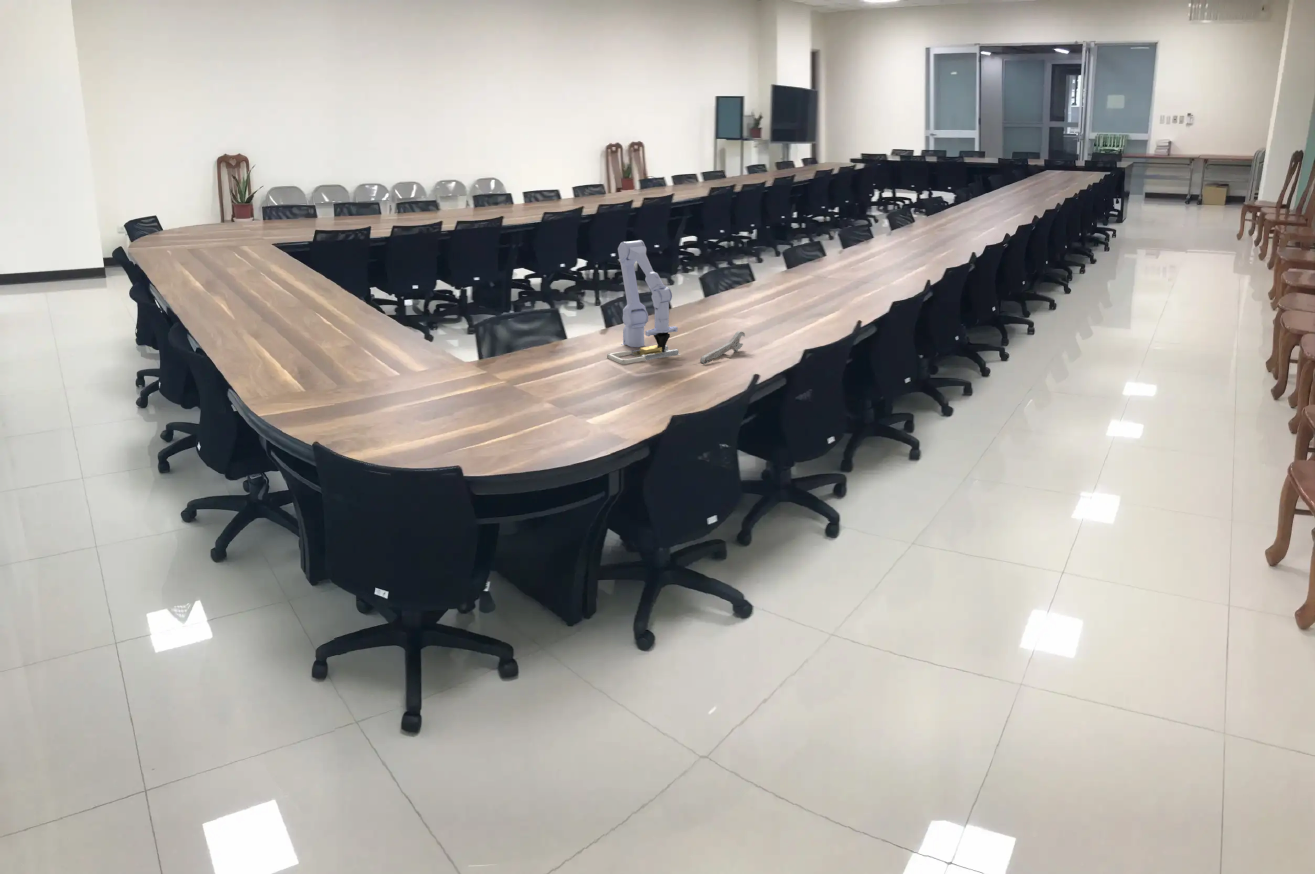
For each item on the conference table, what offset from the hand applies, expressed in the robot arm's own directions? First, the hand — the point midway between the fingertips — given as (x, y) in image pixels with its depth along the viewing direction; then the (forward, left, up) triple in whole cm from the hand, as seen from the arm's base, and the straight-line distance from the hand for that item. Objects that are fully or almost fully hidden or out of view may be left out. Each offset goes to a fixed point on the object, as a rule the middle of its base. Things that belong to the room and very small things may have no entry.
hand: (661, 351), depth 371 cm
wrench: (+15, +20, -2) cm, 25 cm away
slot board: (0, -3, -2) cm, 4 cm away
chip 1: (0, -7, -1) cm, 7 cm away
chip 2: (0, -3, -1) cm, 3 cm away
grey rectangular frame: (0, -17, -2) cm, 17 cm away
